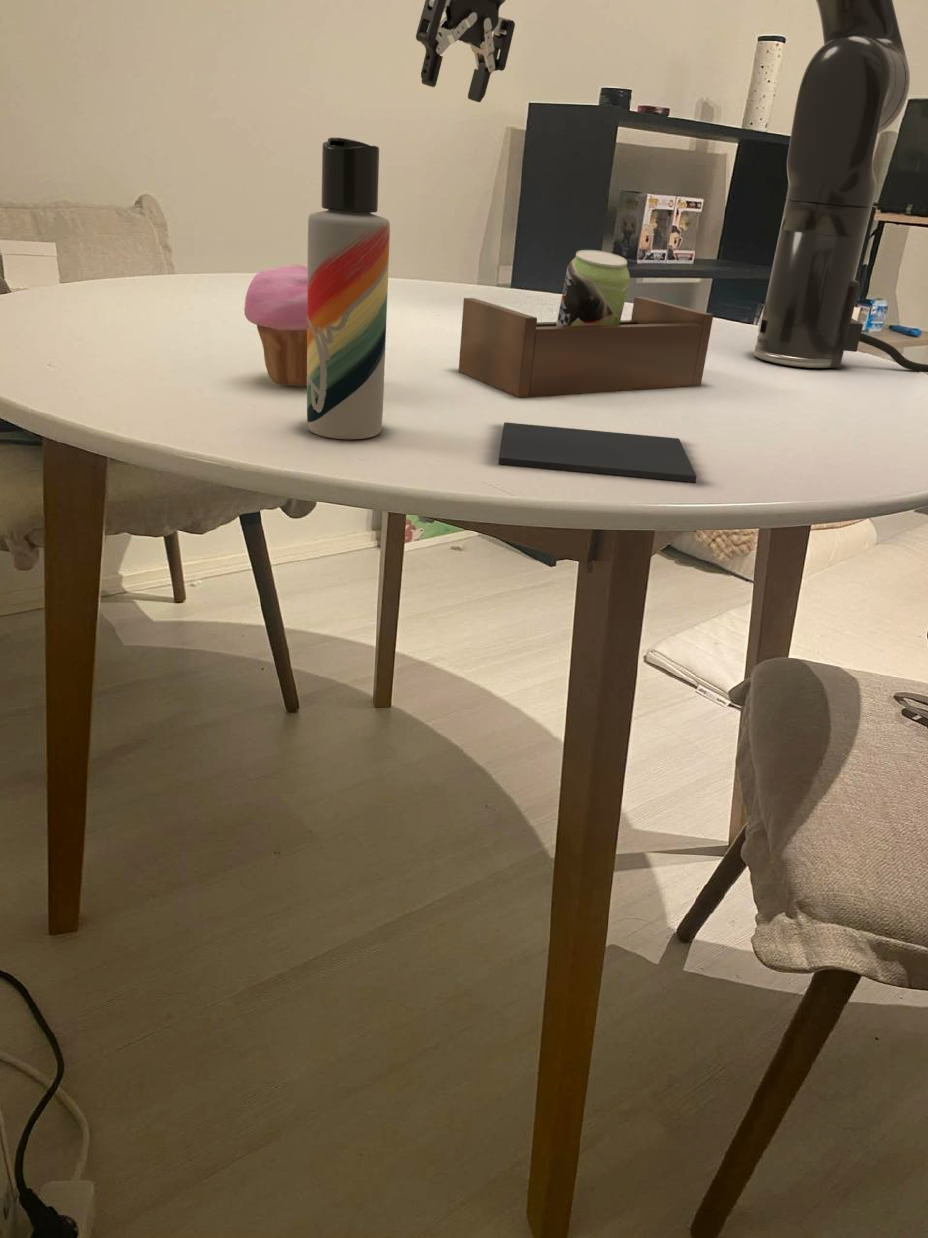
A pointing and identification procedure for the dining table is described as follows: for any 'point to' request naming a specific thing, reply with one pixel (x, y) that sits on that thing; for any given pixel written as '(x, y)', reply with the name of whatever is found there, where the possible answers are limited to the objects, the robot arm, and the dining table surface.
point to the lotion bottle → (347, 296)
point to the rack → (584, 350)
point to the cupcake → (281, 321)
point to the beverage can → (594, 289)
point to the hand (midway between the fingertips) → (451, 93)
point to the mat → (595, 452)
